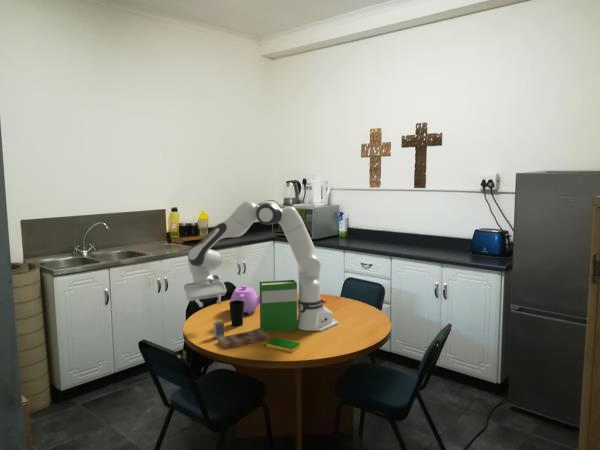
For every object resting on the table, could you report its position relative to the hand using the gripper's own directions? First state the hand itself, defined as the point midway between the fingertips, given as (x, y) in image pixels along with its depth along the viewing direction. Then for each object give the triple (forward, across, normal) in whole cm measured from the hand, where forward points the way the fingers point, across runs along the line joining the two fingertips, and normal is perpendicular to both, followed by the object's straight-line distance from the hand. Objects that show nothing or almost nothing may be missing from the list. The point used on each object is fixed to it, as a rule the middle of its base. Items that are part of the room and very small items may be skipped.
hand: (210, 304), depth 228 cm
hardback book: (+20, +30, -1) cm, 36 cm away
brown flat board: (+24, +8, -5) cm, 26 cm away
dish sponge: (+36, +20, -16) cm, 44 cm away
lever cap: (+16, 0, +3) cm, 17 cm away
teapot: (-2, +28, +22) cm, 36 cm away
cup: (+9, +15, +11) cm, 20 cm away
